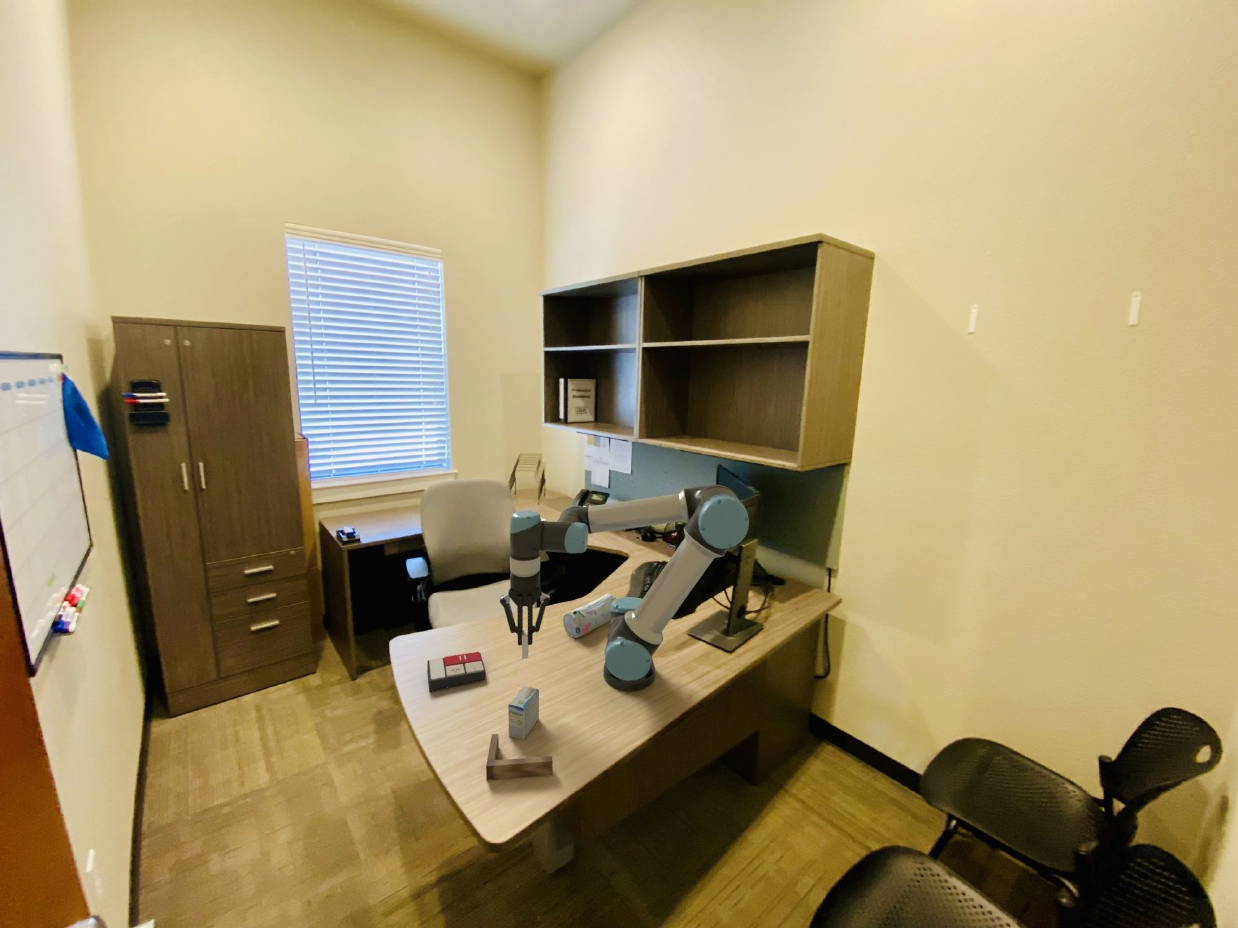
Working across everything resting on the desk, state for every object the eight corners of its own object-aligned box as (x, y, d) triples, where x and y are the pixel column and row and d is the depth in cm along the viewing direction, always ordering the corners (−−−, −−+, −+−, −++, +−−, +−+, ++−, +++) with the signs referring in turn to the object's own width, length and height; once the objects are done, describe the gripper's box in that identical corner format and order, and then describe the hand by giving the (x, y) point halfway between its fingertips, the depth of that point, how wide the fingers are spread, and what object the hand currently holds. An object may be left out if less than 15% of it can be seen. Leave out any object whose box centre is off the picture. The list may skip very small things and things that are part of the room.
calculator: (486, 669, 139) (429, 678, 133) (485, 683, 140) (429, 693, 134) (480, 649, 149) (427, 657, 143) (480, 662, 150) (427, 671, 144)
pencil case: (577, 643, 160) (577, 616, 159) (560, 633, 166) (560, 607, 164) (620, 620, 176) (621, 595, 174) (603, 612, 181) (603, 588, 180)
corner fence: (552, 743, 116) (552, 729, 116) (552, 775, 107) (552, 761, 107) (492, 747, 115) (491, 734, 114) (486, 780, 105) (486, 765, 105)
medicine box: (523, 715, 126) (523, 684, 124) (539, 719, 125) (539, 688, 123) (508, 736, 118) (507, 704, 117) (524, 740, 117) (524, 708, 116)
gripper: (551, 565, 130) (550, 646, 134) (500, 566, 128) (501, 648, 133) (550, 576, 123) (549, 662, 127) (497, 577, 121) (498, 664, 125)
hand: (525, 655), depth 130 cm, fingers closed
